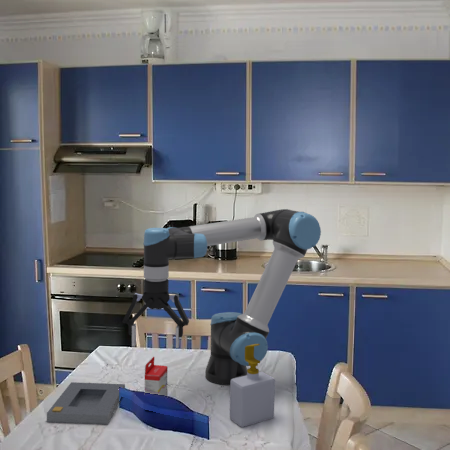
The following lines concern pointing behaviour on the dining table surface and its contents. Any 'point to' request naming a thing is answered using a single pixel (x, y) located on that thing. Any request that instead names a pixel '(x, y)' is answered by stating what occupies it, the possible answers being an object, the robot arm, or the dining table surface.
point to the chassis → (86, 403)
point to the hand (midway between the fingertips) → (155, 346)
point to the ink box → (155, 378)
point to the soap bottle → (252, 394)
